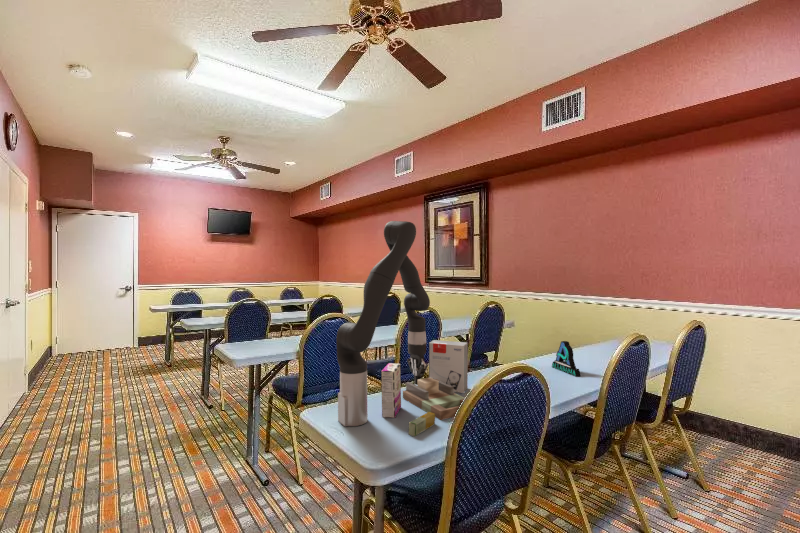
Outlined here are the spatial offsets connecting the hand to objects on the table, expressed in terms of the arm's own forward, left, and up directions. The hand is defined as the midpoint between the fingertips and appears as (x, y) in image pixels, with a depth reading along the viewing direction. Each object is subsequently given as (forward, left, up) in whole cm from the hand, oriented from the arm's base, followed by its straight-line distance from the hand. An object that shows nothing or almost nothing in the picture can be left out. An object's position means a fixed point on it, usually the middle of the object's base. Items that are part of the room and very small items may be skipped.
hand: (417, 384), depth 165 cm
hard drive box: (+15, -1, -4) cm, 16 cm away
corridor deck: (0, -15, -4) cm, 15 cm away
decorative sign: (+81, -8, -4) cm, 82 cm away
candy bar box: (-19, -13, -4) cm, 23 cm away
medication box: (-18, -31, -4) cm, 36 cm away
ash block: (0, -8, -1) cm, 8 cm away
